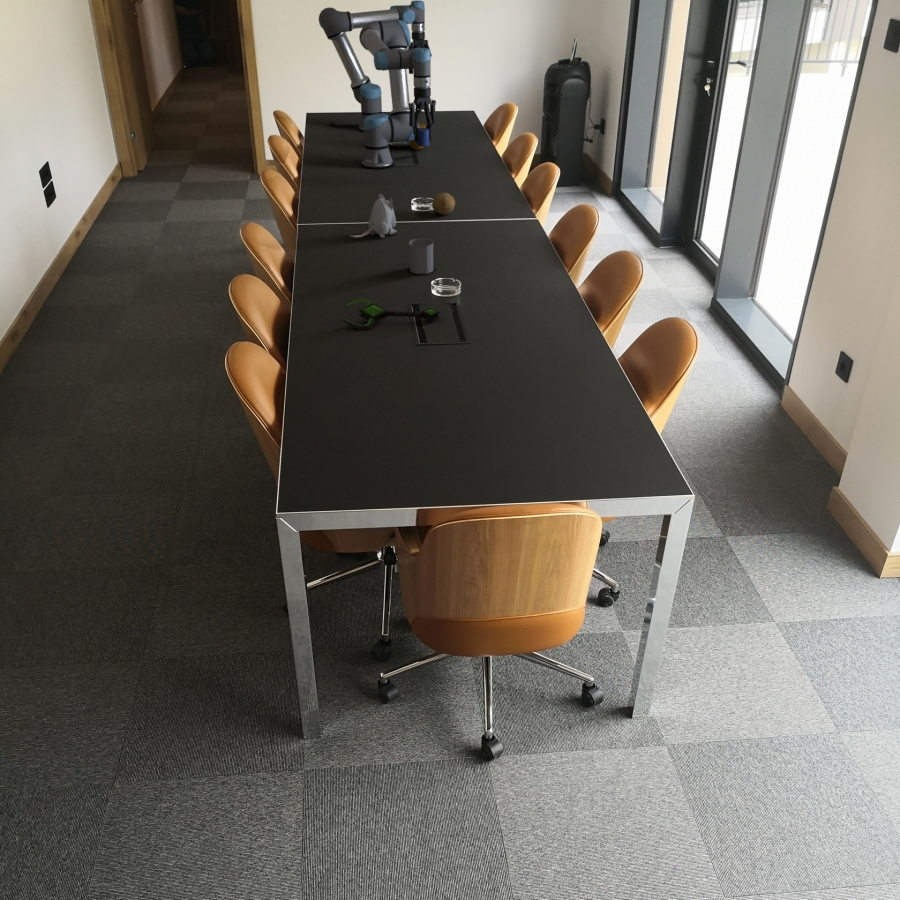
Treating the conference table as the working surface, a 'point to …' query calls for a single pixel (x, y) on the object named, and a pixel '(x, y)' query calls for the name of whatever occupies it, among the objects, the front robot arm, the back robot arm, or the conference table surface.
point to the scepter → (386, 313)
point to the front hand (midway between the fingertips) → (422, 141)
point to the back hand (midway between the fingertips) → (418, 72)
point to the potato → (443, 203)
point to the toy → (381, 218)
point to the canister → (423, 137)
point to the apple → (413, 143)
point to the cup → (421, 256)
